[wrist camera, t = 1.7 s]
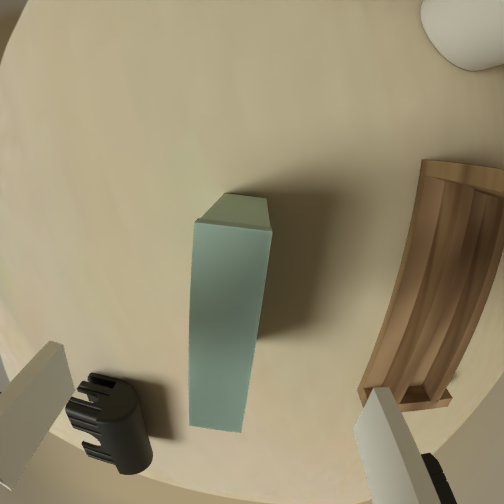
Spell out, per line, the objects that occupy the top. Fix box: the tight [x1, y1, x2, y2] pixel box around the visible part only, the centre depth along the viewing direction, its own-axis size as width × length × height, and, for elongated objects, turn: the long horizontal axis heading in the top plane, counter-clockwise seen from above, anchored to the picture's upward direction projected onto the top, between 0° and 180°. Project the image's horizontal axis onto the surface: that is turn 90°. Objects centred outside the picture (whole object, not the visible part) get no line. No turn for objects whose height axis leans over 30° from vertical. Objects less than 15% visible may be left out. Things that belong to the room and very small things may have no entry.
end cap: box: [65, 373, 153, 475], centre depth 26 cm, size 10×7×7 cm
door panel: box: [188, 193, 272, 433], centre depth 19 cm, size 3×12×10 cm, turn 173°
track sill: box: [357, 160, 504, 412], centre depth 19 cm, size 10×22×10 cm, turn 173°
